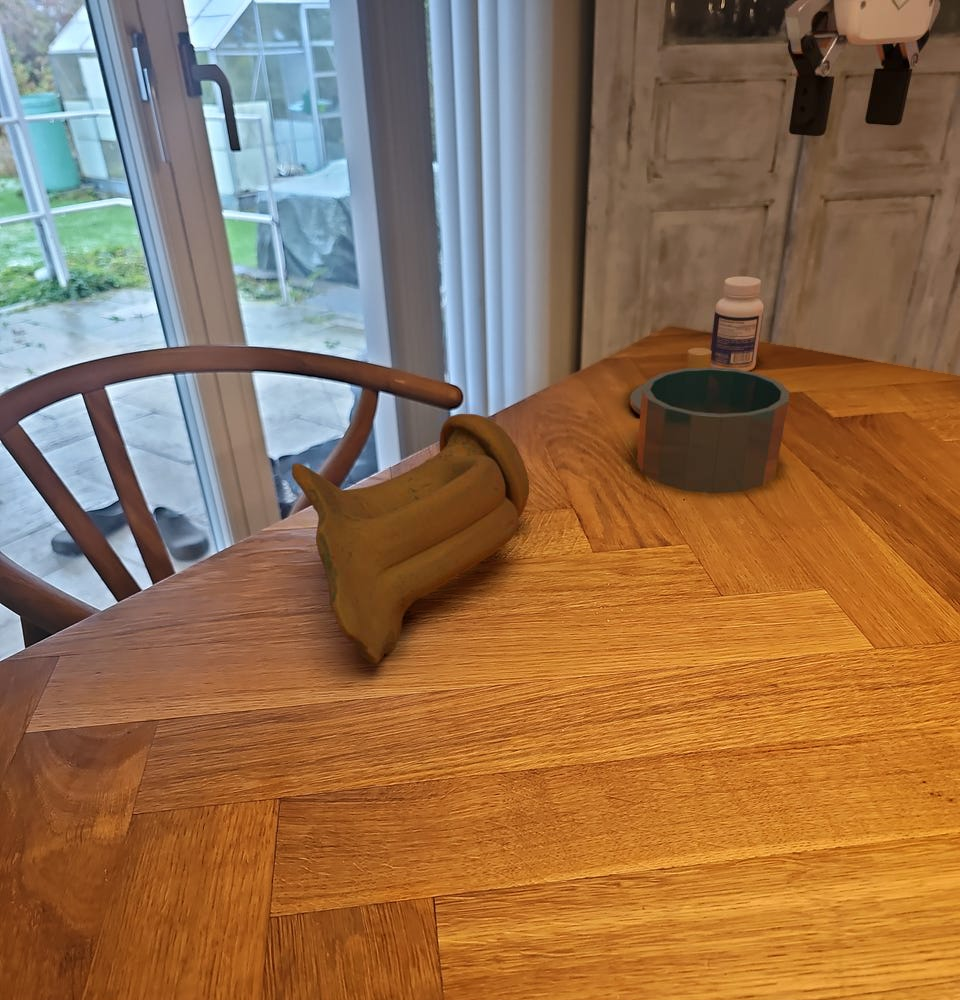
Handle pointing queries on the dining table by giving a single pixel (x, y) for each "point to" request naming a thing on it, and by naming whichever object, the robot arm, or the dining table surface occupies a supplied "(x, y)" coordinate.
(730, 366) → the pill bottle
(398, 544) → the brown fluted pedestal
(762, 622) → the dining table surface
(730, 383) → the pot
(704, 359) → the lid
